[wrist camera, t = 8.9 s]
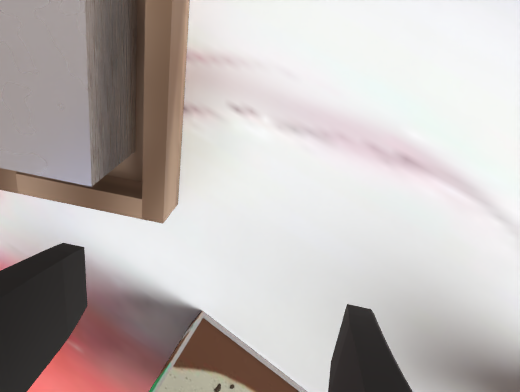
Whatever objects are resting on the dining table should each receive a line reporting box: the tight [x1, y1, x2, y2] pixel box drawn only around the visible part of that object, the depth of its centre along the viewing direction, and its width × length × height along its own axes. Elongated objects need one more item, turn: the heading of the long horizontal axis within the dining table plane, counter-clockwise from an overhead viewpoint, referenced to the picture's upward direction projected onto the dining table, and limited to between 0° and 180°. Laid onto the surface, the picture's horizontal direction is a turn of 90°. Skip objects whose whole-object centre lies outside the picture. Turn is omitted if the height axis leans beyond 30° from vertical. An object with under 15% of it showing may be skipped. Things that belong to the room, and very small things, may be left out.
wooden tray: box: [0, 0, 189, 223], centre depth 19 cm, size 8×13×2 cm, turn 173°
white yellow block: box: [0, 0, 137, 187], centre depth 17 cm, size 4×8×4 cm, turn 173°
